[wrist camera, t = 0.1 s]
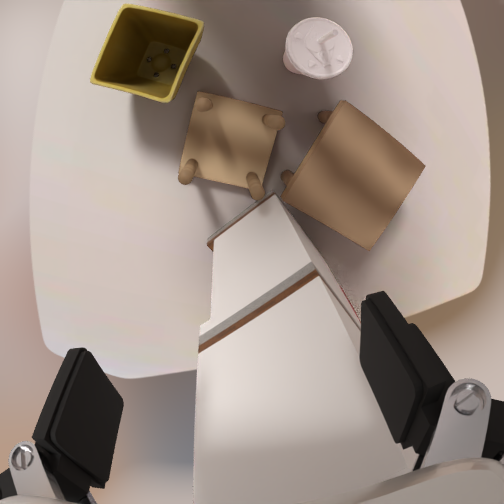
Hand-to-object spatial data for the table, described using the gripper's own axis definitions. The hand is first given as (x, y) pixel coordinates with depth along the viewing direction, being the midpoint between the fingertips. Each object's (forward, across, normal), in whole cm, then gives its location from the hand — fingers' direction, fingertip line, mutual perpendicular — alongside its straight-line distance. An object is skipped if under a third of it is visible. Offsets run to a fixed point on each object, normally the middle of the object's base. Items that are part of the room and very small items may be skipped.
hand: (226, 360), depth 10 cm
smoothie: (+31, -11, -12) cm, 35 cm away
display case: (+31, -3, +12) cm, 33 cm away
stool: (+31, -14, +2) cm, 34 cm away
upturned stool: (+31, -1, -3) cm, 31 cm away
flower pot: (+31, +4, -15) cm, 35 cm away
